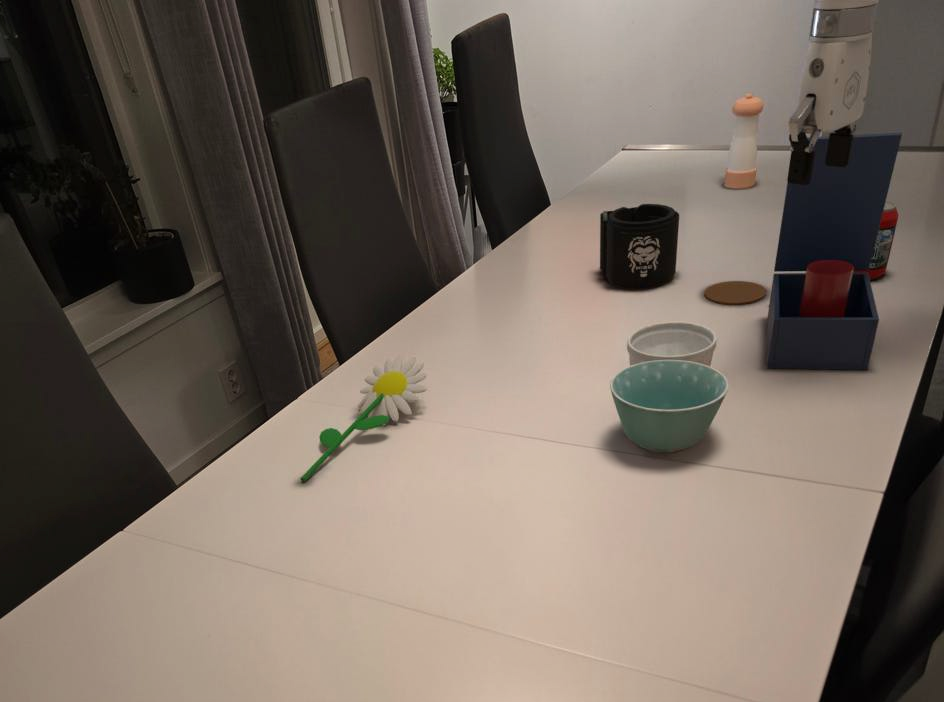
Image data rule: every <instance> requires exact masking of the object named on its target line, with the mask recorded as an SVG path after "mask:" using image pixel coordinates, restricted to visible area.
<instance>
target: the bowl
mask: <svg viewBox="0 0 944 702" xmlns="http://www.w3.org/2000/svg"><path fill="white" fill-rule="evenodd" d="M609 386H610V387H609V389H610V393H611V395H612V399H613V403H614V406H615V409H616V412H617V415H618V417H619V421H620V423H621V426H622V429H623V432H624V434H625V436H626V437H627V438H628V440H629V441H631V442H632V443H634V444H635V445H637V446H638V447H640V448H642V449H644V450H645V451H650V452H654V453H662V454H663V453H676V452H680V451H683V450H686V449H688V448H690V447H692V446H693V445H696V444H697V443H698V442H700V441H701V440H702V439H703V438H704V437H706V434H707V432H708V431H709V429H710V427H711V425H712V423H713V421H714V419H715V418H716V415H717V413H718V411H719V409H720V407H721V405H722V404H723V401H724V399H725V398H726V395H727V393H728V390H729V386H730V385H729V381H728V378H727V377H726V376H725V374H723V373H722V372H720V371H719V370H718V369H716V368H714V367H712V366H710V367H709V366H707V365H703V364H700V363H696V362H690V361H683V360H655V361H647V362H642V363H638V364H635V365H631V366H630V365H628V366H627V367H625V368H623V369H621V370H620V371H618V372H617V373H615V375H614V376H613V377H612V378H611V380H610V384H609Z"/></svg>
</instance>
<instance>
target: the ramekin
mask: <svg viewBox="0 0 944 702" xmlns="http://www.w3.org/2000/svg"><path fill="white" fill-rule="evenodd" d="M626 343H627V344H626V350H627V353H628V359H629V366H631V365H635V364H638V363H642V362H647V361H655V360H683V361H690V362H696V363H700V364H703V365H707V366H709V367H711V365H712V359H713V356H714V351H716V350H715V349H716V348H717V334H716V333H715V332H714V331H713V330H712V329H711V328H709V327H707V326H705V325H702V324H700V323H695V322H688V321H678V320H677V321H674V320H673V321H662V322H655V323H651V324H648V325H647V324H646V325H644V326H641V327H639V328H637V329H636V330H634V331H633V332H631V334H630V335H629V336H628V338H627V342H626Z"/></svg>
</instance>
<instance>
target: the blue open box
mask: <svg viewBox="0 0 944 702" xmlns="http://www.w3.org/2000/svg"><path fill="white" fill-rule="evenodd" d="M805 276H806V272H795V273H794V272H793V273H791V272H789V273H786V272H784V273H782V272H780V273H773V276H772V281H771V282H772V284H771V290H770V297H769V305H768V311H767V317H766V369H788V370H849V371H850V370H851V371H852V370H853V371H867V370H869V365H870V361H871V355H872V351H873V348H874V343H875V339H876V334H877V330H878V327H879V321H880V318H879V314H878V309H877V305H876V300H875V296H874V291H873V287H872V284H871V280H870V279H869V275H868V272H863V273H853V275H852V280H851V285H850V290H849V295H848V299H847V304H846V309H845V314H844V317H799V311H800V305H801V300H802V294H803V288H804V282H805Z"/></svg>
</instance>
